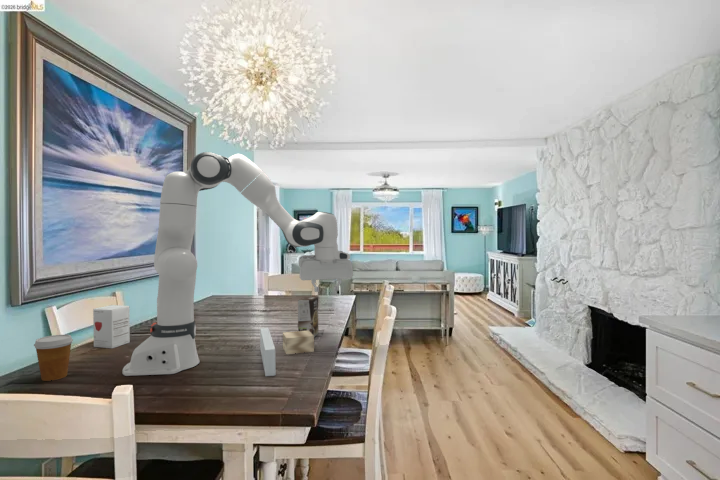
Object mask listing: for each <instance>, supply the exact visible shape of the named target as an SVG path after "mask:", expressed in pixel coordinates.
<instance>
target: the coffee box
mask: <svg viewBox="0 0 720 480" xmlns="http://www.w3.org/2000/svg"><path fill="white" fill-rule="evenodd" d="M307 330H309V331H310V332H311V333H312V334H313V335H314V338H315V337H316V336H318V335H319V296H303V297H301V298H299V299H297V331H307Z"/></svg>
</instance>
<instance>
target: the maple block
mask: <svg viewBox="0 0 720 480" xmlns="http://www.w3.org/2000/svg"><path fill="white" fill-rule="evenodd" d="M282 348H283V351H284V353H285V354H286V355H294V354H295V353H296V354H304V352H305V353H314V352H315V337H314V335H313V334H312V333H311V332H310V331H309V330H307V331H298V330H296V331H287V332H286V331H283V332H282Z"/></svg>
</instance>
